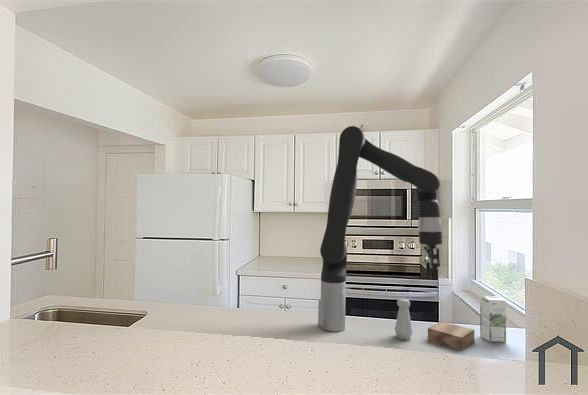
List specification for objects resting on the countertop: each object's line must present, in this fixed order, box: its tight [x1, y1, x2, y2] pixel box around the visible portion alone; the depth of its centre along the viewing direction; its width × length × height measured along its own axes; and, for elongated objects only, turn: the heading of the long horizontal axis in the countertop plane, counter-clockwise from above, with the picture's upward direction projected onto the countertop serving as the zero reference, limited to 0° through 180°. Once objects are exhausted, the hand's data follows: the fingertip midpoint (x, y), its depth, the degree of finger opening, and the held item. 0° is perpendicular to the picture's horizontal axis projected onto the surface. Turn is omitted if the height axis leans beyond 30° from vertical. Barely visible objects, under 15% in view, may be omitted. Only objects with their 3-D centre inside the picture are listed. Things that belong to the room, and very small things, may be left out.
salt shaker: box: [394, 298, 413, 341], centre depth 111 cm, size 6×6×13 cm
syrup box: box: [479, 295, 507, 343], centre depth 111 cm, size 6×6×14 cm
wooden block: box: [427, 321, 475, 351], centre depth 109 cm, size 11×11×4 cm
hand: (432, 277), depth 110 cm, fingers open, 8 cm apart
